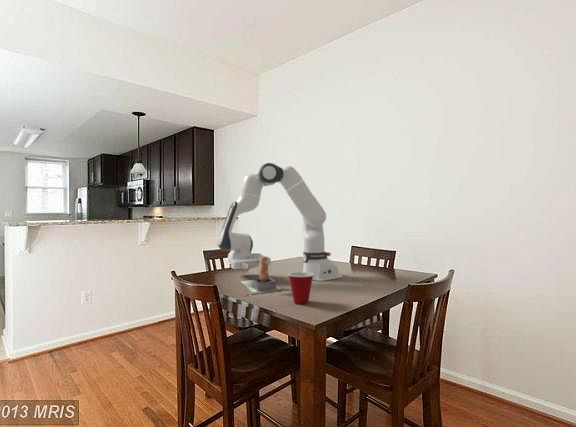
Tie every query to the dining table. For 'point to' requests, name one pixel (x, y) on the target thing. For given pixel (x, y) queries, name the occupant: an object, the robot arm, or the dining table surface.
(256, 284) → the board
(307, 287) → the plastic cup
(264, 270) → the peg
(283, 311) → the dining table surface
